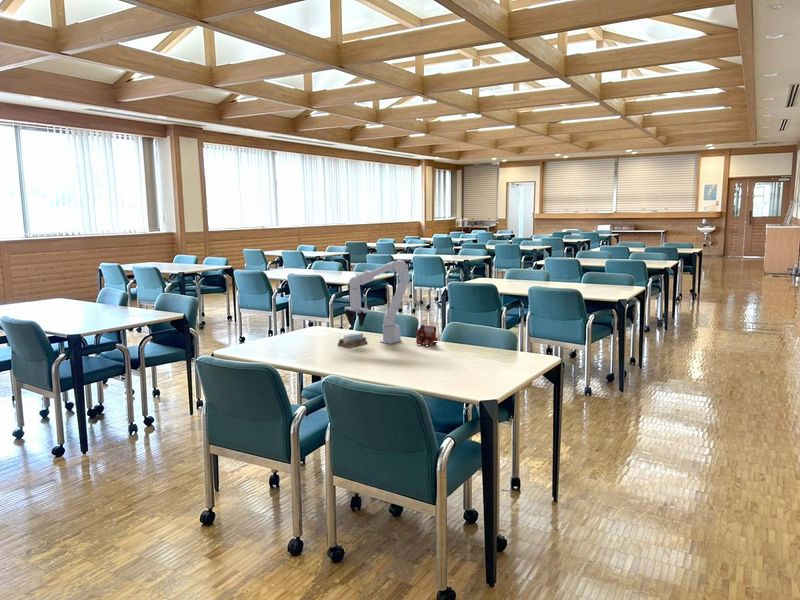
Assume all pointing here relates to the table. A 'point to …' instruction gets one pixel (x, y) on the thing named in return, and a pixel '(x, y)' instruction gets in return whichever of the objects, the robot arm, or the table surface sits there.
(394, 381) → the table surface
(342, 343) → the cradle
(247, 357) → the table surface
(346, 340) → the dome-topped blue pillar
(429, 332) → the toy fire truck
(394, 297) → the robot arm
